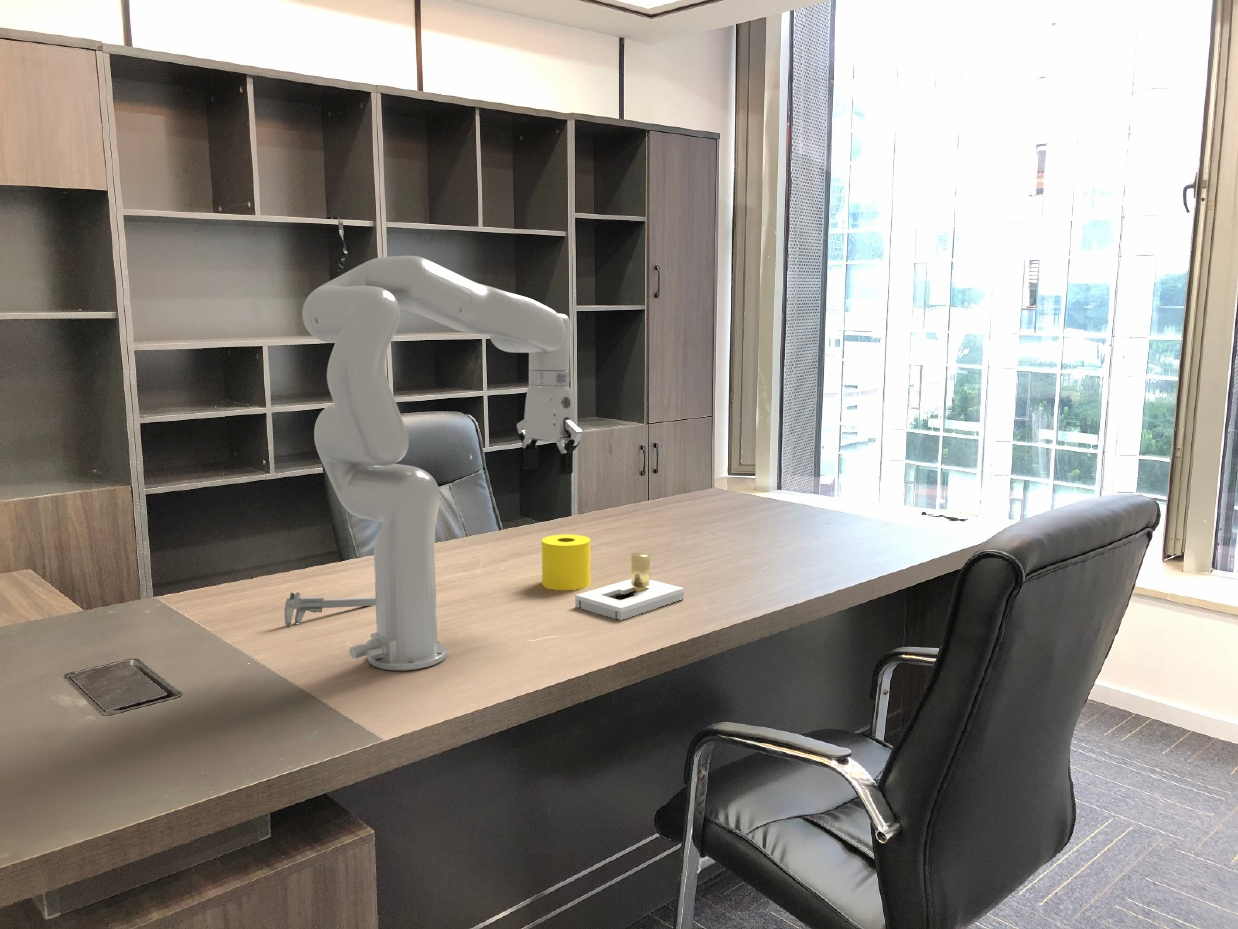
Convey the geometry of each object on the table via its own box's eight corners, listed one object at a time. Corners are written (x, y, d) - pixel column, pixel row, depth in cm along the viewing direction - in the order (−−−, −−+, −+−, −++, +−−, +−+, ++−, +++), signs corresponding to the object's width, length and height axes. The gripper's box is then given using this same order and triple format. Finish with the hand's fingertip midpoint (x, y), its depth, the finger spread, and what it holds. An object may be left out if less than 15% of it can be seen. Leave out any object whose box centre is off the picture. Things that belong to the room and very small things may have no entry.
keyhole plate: (621, 620, 174) (621, 608, 173) (575, 607, 182) (575, 595, 181) (683, 599, 186) (683, 588, 186) (638, 588, 195) (638, 576, 194)
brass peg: (641, 604, 183) (641, 558, 182) (625, 600, 186) (626, 554, 185) (654, 600, 186) (655, 554, 185) (639, 596, 189) (639, 551, 188)
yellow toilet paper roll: (560, 575, 204) (559, 532, 203) (599, 582, 199) (599, 538, 198) (532, 586, 196) (532, 541, 195) (573, 593, 191) (572, 547, 189)
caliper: (288, 628, 169) (286, 594, 168) (285, 627, 170) (283, 593, 169) (385, 604, 184) (384, 572, 183) (382, 602, 185) (381, 571, 184)
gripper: (595, 381, 173) (594, 474, 175) (534, 378, 185) (533, 465, 187) (565, 382, 167) (563, 478, 170) (504, 378, 180) (503, 468, 182)
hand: (547, 471), depth 178 cm, fingers open, 9 cm apart
